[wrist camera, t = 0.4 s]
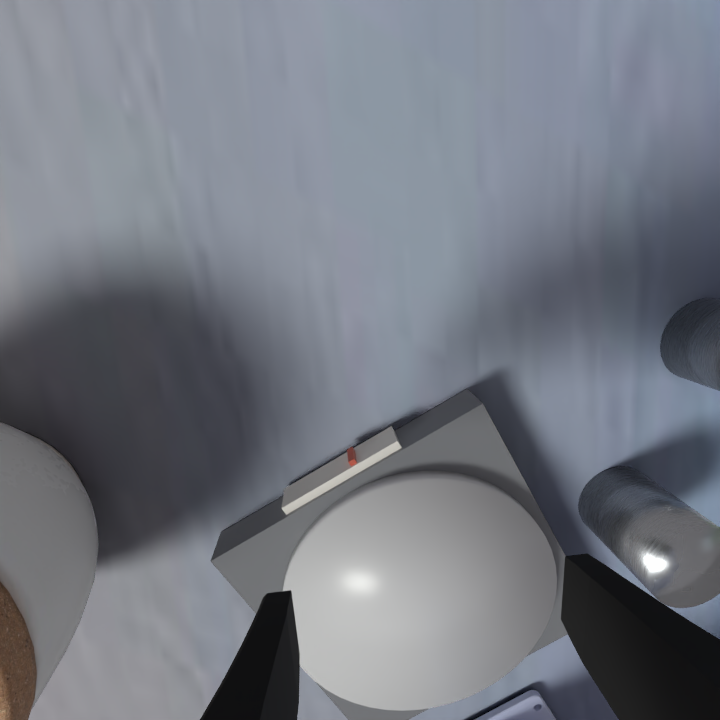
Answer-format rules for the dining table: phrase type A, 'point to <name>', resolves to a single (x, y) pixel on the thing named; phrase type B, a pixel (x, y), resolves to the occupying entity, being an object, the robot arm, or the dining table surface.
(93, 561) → the lidded bowl
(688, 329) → the cylinder
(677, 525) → the cylinder
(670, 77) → the dining table surface
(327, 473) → the scale
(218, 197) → the dining table surface
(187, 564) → the dining table surface
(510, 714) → the robot arm
